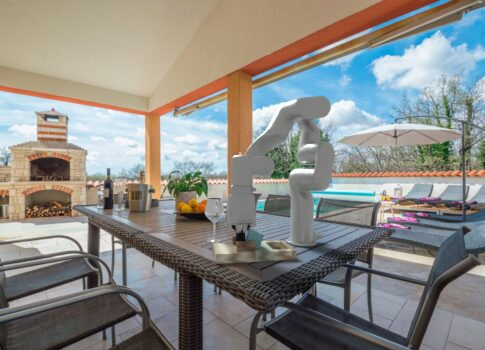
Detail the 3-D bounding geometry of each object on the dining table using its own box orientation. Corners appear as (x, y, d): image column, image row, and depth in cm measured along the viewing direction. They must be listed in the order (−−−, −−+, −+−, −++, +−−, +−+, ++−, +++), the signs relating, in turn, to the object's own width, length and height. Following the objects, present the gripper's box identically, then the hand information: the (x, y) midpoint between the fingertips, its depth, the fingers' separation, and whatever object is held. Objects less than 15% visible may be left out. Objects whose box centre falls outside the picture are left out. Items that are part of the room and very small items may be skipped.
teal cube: (256, 245, 88) (261, 231, 88) (258, 249, 83) (264, 235, 83) (243, 240, 88) (248, 227, 88) (245, 244, 83) (250, 230, 83)
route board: (282, 248, 95) (282, 232, 95) (296, 259, 83) (296, 241, 83) (212, 251, 90) (212, 234, 90) (215, 263, 77) (216, 244, 77)
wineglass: (205, 238, 108) (205, 197, 108) (223, 238, 108) (224, 197, 108) (203, 243, 99) (204, 199, 100) (223, 243, 100) (224, 199, 100)
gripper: (259, 190, 91) (258, 240, 90) (218, 190, 88) (217, 241, 87) (265, 191, 83) (264, 246, 83) (221, 191, 80) (220, 247, 80)
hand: (240, 243), depth 85 cm, fingers closed
